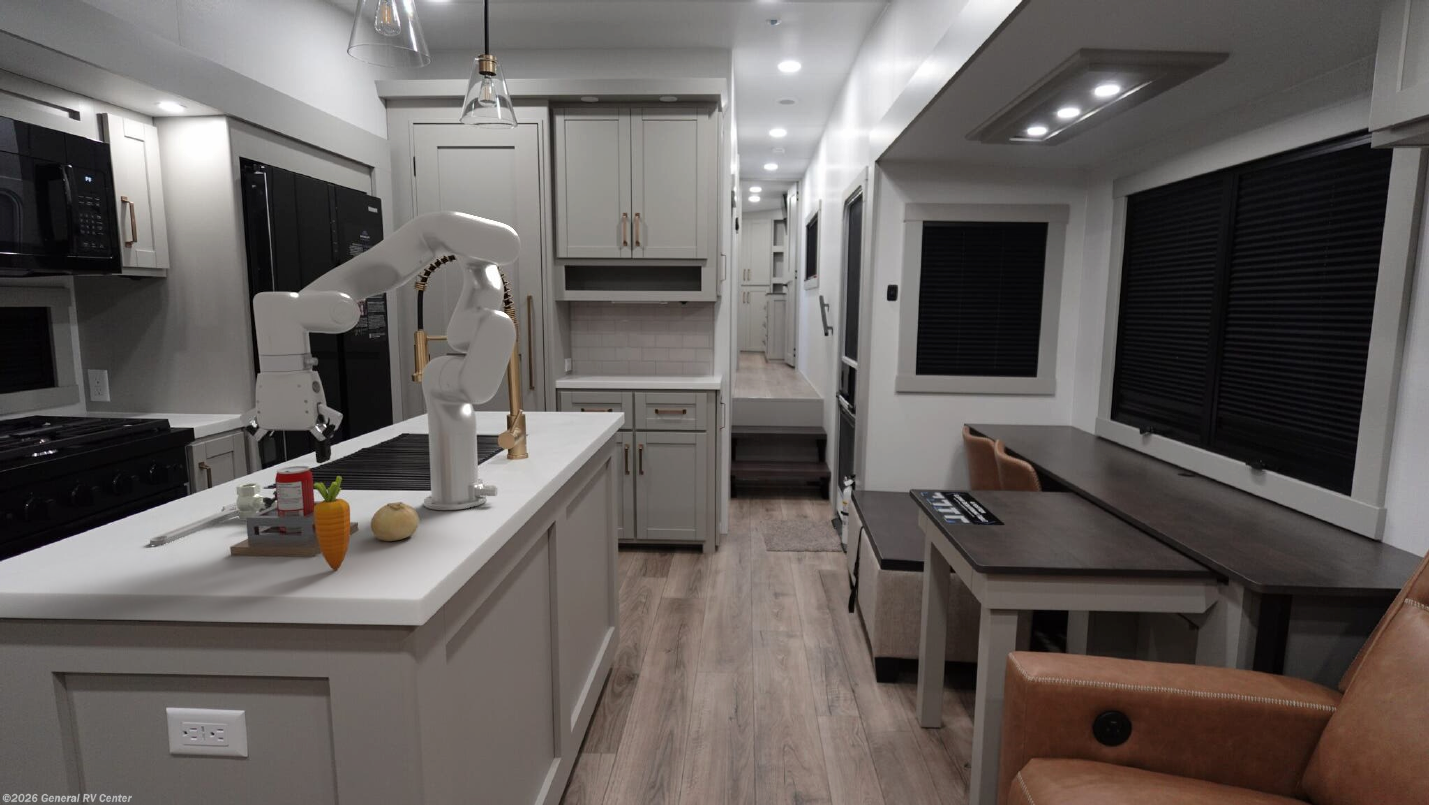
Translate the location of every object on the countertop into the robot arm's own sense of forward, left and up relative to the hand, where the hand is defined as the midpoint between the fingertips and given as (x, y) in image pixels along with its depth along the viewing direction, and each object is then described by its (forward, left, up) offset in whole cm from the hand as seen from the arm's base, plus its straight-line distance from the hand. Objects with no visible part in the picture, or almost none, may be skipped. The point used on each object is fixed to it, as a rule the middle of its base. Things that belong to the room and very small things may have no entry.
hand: (296, 461), depth 119 cm
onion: (-16, -3, -15) cm, 22 cm away
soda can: (0, 0, -13) cm, 13 cm away
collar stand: (0, +1, -15) cm, 14 cm away
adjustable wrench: (+24, -10, -15) cm, 30 cm away
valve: (+15, -12, -15) cm, 25 cm away
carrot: (-14, +14, -15) cm, 24 cm away
